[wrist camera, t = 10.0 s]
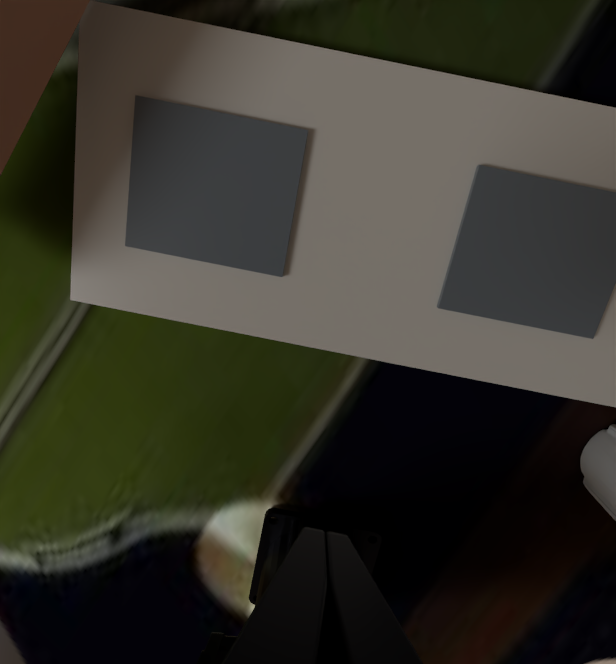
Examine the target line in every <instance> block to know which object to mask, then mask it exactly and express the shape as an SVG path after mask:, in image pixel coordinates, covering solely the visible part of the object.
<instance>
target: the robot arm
mask: <svg viewBox="0 0 616 664" xmlns="http://www.w3.org/2000/svg"><path fill="white" fill-rule="evenodd" d="M271 517H276V518H277V519H271ZM370 536H375V537H374V538H369V537H370ZM381 542H382V538H381V533H380V530H378V529H377V528H375V527H371V526H366V525H361V524H355V523H350V522H345V521H340V520H335V519H329V518H324V517H319V516H314V515H309V514H304V513H298V512H293V511H288V510H283V509H278V508H271V509H268V510H267V511H266V513H265V518H264V523H263V528H262V533H261V538H260V543H259V548H258V553H257V559H256V564H255V569H254V574H253V579H252V584H251V589H250V594H249V600H250V602H251V603H253V604H255V608H254V610H253V612H252V613H251V615H250V617H249V618H248V620H247V622H246V623H245V625H244V627H243V628H242V630H241V632H240V633H239V635H238V637H233V636H225V633H214V632H212V634H211V636H210V639H209V641H208V644H207V646H206V649H205V650H203V651H202V652H201V655H200V657H199V660H198V662H197V664H423V663H422V661H421V659H420V658H419V656H418V654H417V653H416V651H415V649H414V648H413V646H412V644H411V642H410V641H409V639H408V637H407V636H406V634H405V632H404V630H403V629H402V627H401V625H400V624H399V622H398V620H397V618H396V617H395V615H394V613H393V612H392V610H391V608H390V606H389V605H388V603H387V601H386V600H385V598H384V596H383V595H382V593H381V591H380V589H379V588H378V586H377V584H376V583H375V581H374V579H373V577H372V576H371V575H372V572H373V569H374V565H375V562H376V559H377V555H378V552H379V548H380V545H381Z"/></svg>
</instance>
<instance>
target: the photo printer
mask: <svg viewBox="0 0 616 664" xmlns="http://www.w3.org/2000/svg"><path fill="white" fill-rule="evenodd" d="M580 467H581V471H582V473H583V475H584V476H585V477H584V480H583V484H584V485H585V487H586V488H587V490H588V491H589V492H590V493H591V494H592V496H593V497H594V498H595V499H596V500H597V501H598V502H599V503H600V504H601V506H602V507H603V508H604V509H605V510H606V511H607V512H608V513H609V514H610V515H611V517H612V518H613V519H614V520H615V521H616V424H612V425H610V426H609V428H608V429H607V430H601V431H599V432H598V433H597V434H595V435H594V436H593V437H592V438H591V439H590V440H589V442H588V443H587V444H586V446H585V448H584V450H583V452H582V455H581V459H580Z"/></svg>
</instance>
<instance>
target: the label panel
mask: <svg viewBox="0 0 616 664" xmlns="http://www.w3.org/2000/svg"><path fill="white" fill-rule="evenodd" d="M70 300H74V301H79V302H84V303H89V304H94V305H99V306H104V307H109V308H114V309H119V310H124V311H130V312H135V313H140V314H145V315H150V316H155V317H160V318H165V319H170V320H175V321H180V322H185V323H190V324H196V325H201V326H206V327H211V328H216V329H221V330H226V331H231V332H236V333H241V334H246V335H251V336H256V337H262V338H267V339H272V340H277V341H282V342H287V343H292V344H297V345H302V346H307V347H312V348H317V349H322V350H328V351H333V352H338V353H343V354H348V355H353V356H358V357H363V358H368V359H373V360H378V361H383V362H388V363H393V364H399V365H404V366H409V367H414V368H419V369H424V370H429V371H434V372H439V373H444V374H449V375H454V376H459V377H465V378H470V379H475V380H480V381H485V382H490V383H495V384H500V385H505V386H510V387H515V388H520V389H525V390H531V391H536V392H541V393H546V394H551V395H556V396H561V397H566V398H571V399H576V400H581V401H586V402H591V403H597V404H602V405H607V406H612V407H616V108H614V107H609V106H605V105H600V104H595V103H590V102H585V101H580V100H575V99H570V98H565V97H561V96H556V95H551V94H546V93H541V92H536V91H531V90H526V89H521V88H517V87H512V86H507V85H502V84H497V83H492V82H487V81H482V80H478V79H473V78H468V77H463V76H458V75H453V74H448V73H443V72H438V71H434V70H429V69H424V68H419V67H414V66H409V65H404V64H399V63H395V62H390V61H385V60H380V59H375V58H370V57H365V56H360V55H355V54H351V53H346V52H341V51H336V50H331V49H326V48H321V47H316V46H311V45H307V44H302V43H297V42H292V41H287V40H282V39H277V38H272V37H268V36H263V35H258V34H253V33H248V32H243V31H238V30H233V29H228V28H224V27H219V26H214V25H209V24H204V23H199V22H194V21H189V20H185V19H180V18H175V17H170V16H165V15H160V14H155V13H150V12H145V11H141V10H136V9H131V8H126V7H121V6H116V5H111V4H106V3H101V2H97V1H92V0H90V1H89V3H88V5H87V7H86V9H85V11H84V13H83V15H82V17H81V19H80V23H79V53H78V84H77V114H76V144H75V174H74V205H73V235H72V265H71V296H70Z"/></svg>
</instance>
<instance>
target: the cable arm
mask: <svg viewBox="0 0 616 664" xmlns="http://www.w3.org/2000/svg"><path fill="white" fill-rule="evenodd" d="M89 1H90V0H0V175H1V173H2V171H3V169H4V167H5V165H6V163H7V162H8V160H9V158H10V156H11V154H12V152H13V150H14V148H15V146H16V144H17V142H18V140H19V138H20V136H21V134H22V132H23V130H24V128H25V126H26V124H27V122H28V120H29V119H30V117H31V115H32V113H33V111H34V109H35V107H36V105H37V103H38V101H39V99H40V97H41V95H42V93H43V91H44V89H45V87H46V85H47V83H48V81H49V79H50V77H51V76H52V74H53V72H54V70H55V68H56V66H57V64H58V62H59V60H60V58H61V56H62V54H63V52H64V50H65V48H66V46H67V44H68V42H69V40H70V38H71V36H72V34H73V32H74V31H75V29H76V27H77V25H78V23H79V21H80V19H81V17H82V15H83V13H84V11H85V9H86V7H87V5H88V3H89Z"/></svg>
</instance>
